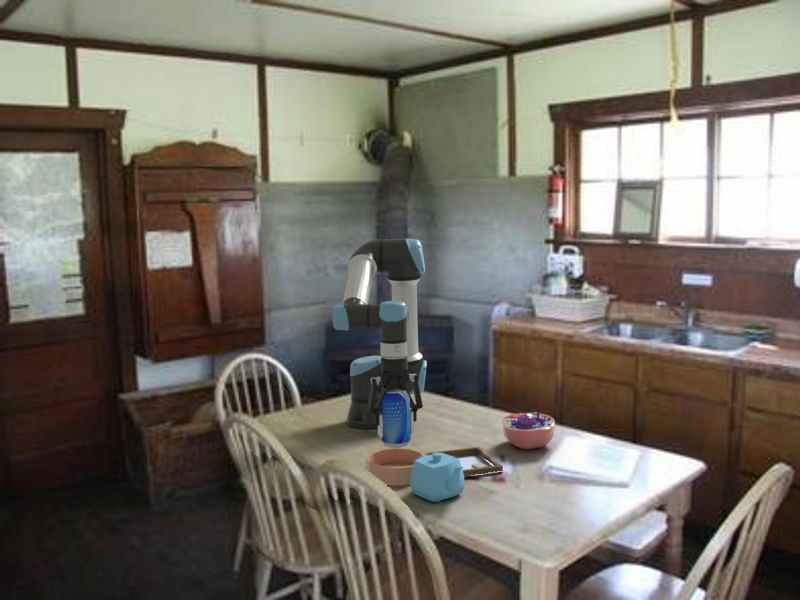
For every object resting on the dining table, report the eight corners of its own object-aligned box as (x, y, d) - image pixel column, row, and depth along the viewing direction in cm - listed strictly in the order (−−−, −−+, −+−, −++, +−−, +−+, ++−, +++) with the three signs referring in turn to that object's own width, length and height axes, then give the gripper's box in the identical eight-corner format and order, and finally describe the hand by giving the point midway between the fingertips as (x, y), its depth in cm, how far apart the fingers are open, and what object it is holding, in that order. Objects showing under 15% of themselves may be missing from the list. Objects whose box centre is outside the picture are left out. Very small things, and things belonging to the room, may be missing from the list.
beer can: (414, 440, 221) (413, 386, 219) (405, 449, 213) (403, 394, 211) (387, 438, 224) (386, 384, 222) (377, 447, 216) (375, 392, 214)
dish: (359, 467, 226) (358, 451, 225) (417, 460, 231) (417, 444, 230) (374, 489, 209) (373, 472, 208) (436, 481, 214) (436, 464, 213)
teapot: (445, 513, 193) (445, 470, 191) (401, 492, 207) (400, 451, 205) (481, 500, 200) (481, 458, 199) (436, 481, 214) (436, 441, 213)
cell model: (562, 439, 247) (562, 405, 246) (546, 459, 229) (547, 423, 228) (511, 433, 254) (511, 400, 253) (492, 452, 237) (492, 417, 235)
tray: (423, 459, 232) (423, 453, 231) (479, 452, 236) (479, 446, 236) (443, 480, 214) (443, 473, 214) (502, 472, 219) (502, 466, 219)
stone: (471, 471, 221) (471, 464, 221) (478, 469, 223) (478, 462, 223) (479, 475, 218) (479, 467, 218) (487, 473, 220) (487, 465, 220)
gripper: (360, 362, 209) (362, 442, 212) (434, 356, 214) (435, 434, 218) (354, 356, 216) (356, 434, 219) (425, 351, 222) (427, 426, 225)
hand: (395, 434), depth 218 cm, fingers closed on beer can, 8 cm apart
